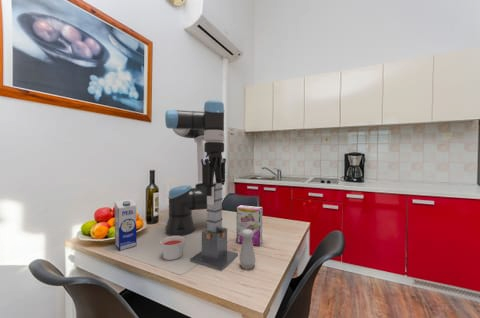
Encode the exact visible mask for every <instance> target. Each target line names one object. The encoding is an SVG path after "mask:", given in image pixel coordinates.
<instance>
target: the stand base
mask: <svg viewBox="0 0 480 318" xmlns="http://www.w3.org/2000/svg"><path fill="white" fill-rule="evenodd" d="M238 256H239V253H238V252H234V251H230V250H228V228H226V227H223V226H222V227H221V228H220V229H219V232H218V233H217V234H216V233H211V232H207V228H206V229H204V230H202V231H201V250H200V251H199V252H198V253H197V254H194V256H192V257H190V258H189V259H190V260H189V261H190V262H192V263H195V264H198V265H200V266H204V267H207V268H211V269H214V270H217V271H220V272H223V271H224V270H225V268H227V267H228V266H229V265H230V264H231V263H232V262H233V261H234V260H235V259H236V258H237V257H238Z"/></svg>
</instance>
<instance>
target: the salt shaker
mask: <svg viewBox="0 0 480 318" xmlns="http://www.w3.org/2000/svg"><path fill="white" fill-rule="evenodd" d="M241 234H242V237H243V241H242V243H241V248H240V254H239V263H240V265H241V267H242V269H245V270H251V269H253V268H254V266H255V263H256V253H255V249H254V245H253V242H252V238H253V235H254V234H253V231H252V230H250V229H245V230H243V231H242V233H241Z"/></svg>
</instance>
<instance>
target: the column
mask: <svg viewBox="0 0 480 318" xmlns="http://www.w3.org/2000/svg"><path fill="white" fill-rule="evenodd" d="M212 187H214V205H210V204H207V209H205V210H206V217H207V218H206V224H207V225H206V227H207V228H206V229H207V232H211V233H216V234H217V233H218V232H219V229H220V228H221V227H222V228H223V222H222V221H223V216H222V215H223V207H222V205H223V203H222V202H223V201H222V200H223V195H222V194H223V193H222V192H223V185H222V183H219V182H216V181H214V182H213V186H212ZM206 190H207V189H206ZM206 201H207V199H206Z"/></svg>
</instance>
